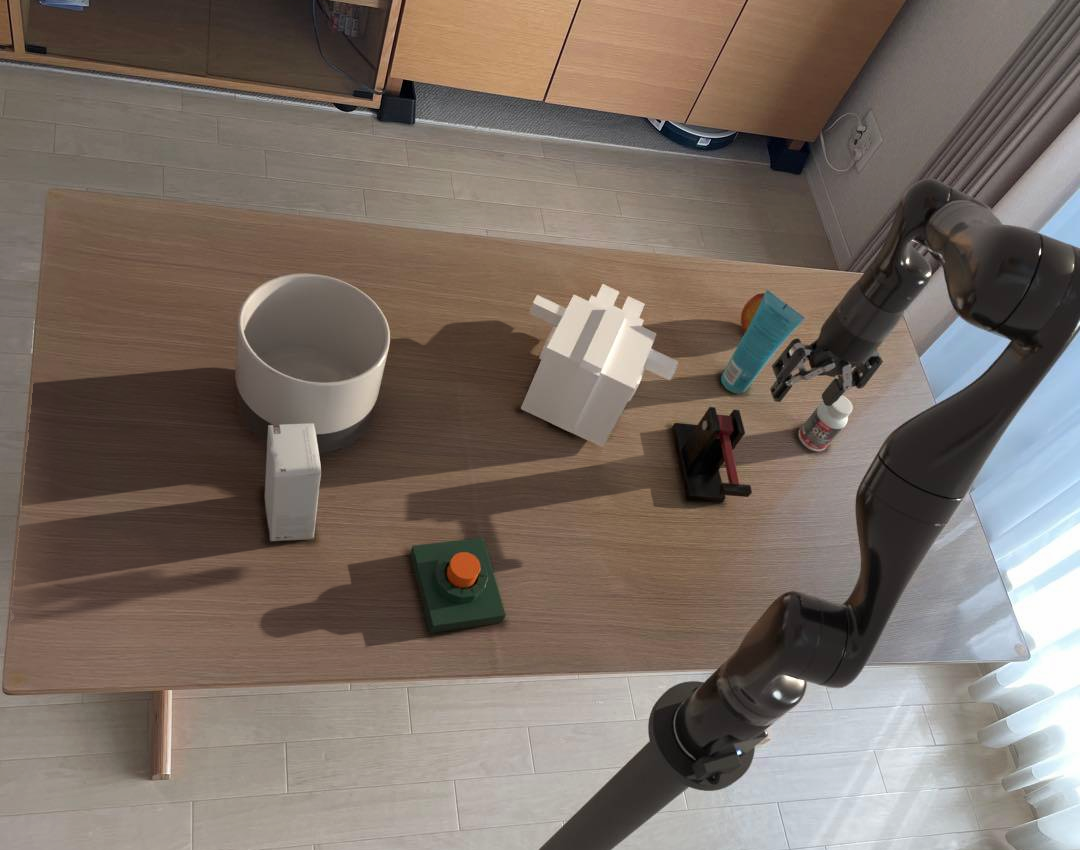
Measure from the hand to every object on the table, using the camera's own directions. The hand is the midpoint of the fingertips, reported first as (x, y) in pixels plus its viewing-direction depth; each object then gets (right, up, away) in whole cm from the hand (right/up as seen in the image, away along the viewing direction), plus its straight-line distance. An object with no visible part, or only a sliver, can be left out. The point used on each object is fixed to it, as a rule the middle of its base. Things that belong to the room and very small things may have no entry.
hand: (800, 399), depth 142 cm
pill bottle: (+9, -4, +27) cm, 29 cm away
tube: (-4, +6, +30) cm, 30 cm away
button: (-47, -24, -10) cm, 54 cm away
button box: (-48, -26, -8) cm, 55 cm away
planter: (-71, -2, +1) cm, 71 cm away
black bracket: (-12, -9, +17) cm, 22 cm away
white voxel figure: (-30, +6, +21) cm, 37 cm away
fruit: (+1, +16, +38) cm, 41 cm away
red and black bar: (-9, -8, +7) cm, 14 cm away
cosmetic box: (-71, -16, -8) cm, 73 cm away
